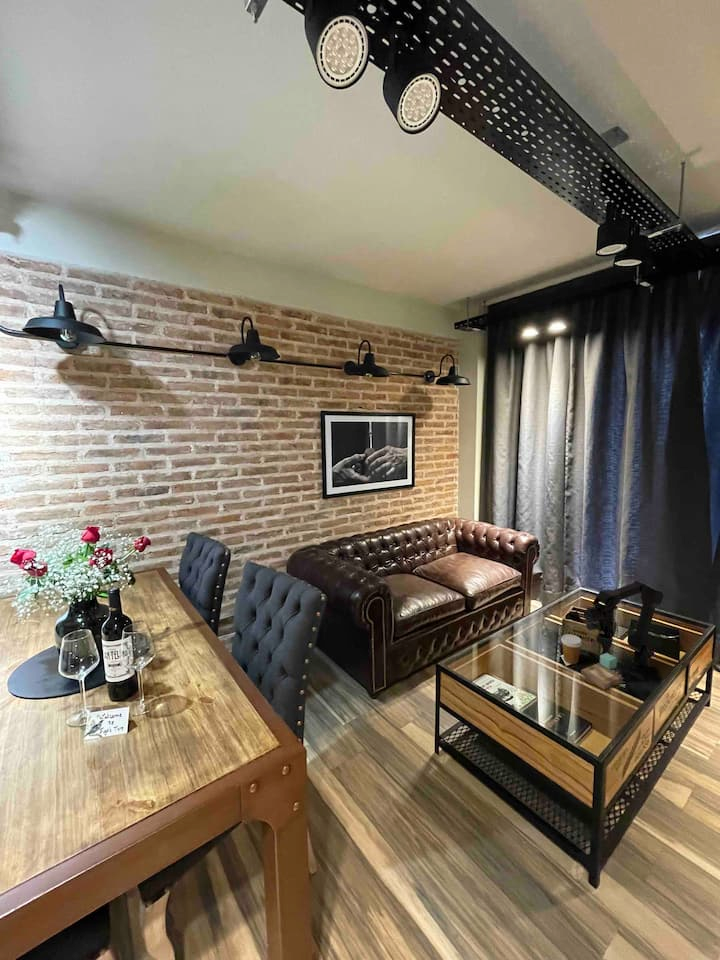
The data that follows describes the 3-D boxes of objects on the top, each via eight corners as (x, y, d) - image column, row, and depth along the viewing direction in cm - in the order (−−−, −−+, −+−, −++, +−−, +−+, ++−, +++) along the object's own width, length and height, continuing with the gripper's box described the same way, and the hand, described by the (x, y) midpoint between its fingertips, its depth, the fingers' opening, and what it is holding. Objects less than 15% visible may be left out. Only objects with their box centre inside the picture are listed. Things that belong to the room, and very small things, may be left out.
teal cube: (606, 661, 201) (607, 652, 200) (616, 667, 196) (616, 658, 196) (599, 664, 199) (600, 655, 198) (609, 670, 195) (609, 661, 194)
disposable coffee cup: (584, 666, 198) (585, 644, 196) (563, 665, 200) (564, 643, 198) (578, 655, 207) (578, 634, 205) (558, 654, 209) (558, 633, 207)
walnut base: (598, 667, 197) (599, 662, 197) (622, 682, 186) (622, 677, 185) (580, 674, 193) (581, 669, 192) (604, 689, 182) (604, 684, 181)
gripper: (590, 605, 201) (590, 634, 204) (583, 622, 187) (583, 653, 190) (617, 610, 194) (616, 640, 197) (611, 628, 180) (611, 660, 183)
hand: (606, 648), depth 192 cm, fingers open, 9 cm apart
